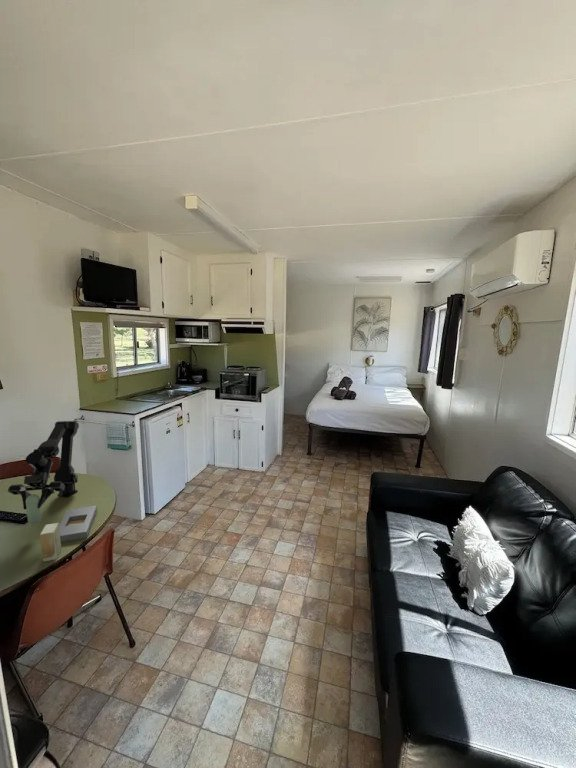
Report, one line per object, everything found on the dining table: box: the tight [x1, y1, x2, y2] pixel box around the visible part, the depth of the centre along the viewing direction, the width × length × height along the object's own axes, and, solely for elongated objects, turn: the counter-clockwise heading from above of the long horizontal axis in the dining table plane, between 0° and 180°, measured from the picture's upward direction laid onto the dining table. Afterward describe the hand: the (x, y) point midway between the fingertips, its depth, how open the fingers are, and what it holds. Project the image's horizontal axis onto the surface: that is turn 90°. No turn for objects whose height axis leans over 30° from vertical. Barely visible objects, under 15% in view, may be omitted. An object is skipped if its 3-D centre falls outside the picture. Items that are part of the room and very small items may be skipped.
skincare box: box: [39, 522, 62, 563], centre depth 119 cm, size 6×4×12 cm
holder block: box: [59, 505, 98, 543], centre depth 137 cm, size 20×12×3 cm, turn 21°
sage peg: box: [26, 493, 43, 525], centre depth 128 cm, size 4×4×12 cm
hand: (31, 508), depth 127 cm, fingers closed on sage peg, 4 cm apart
